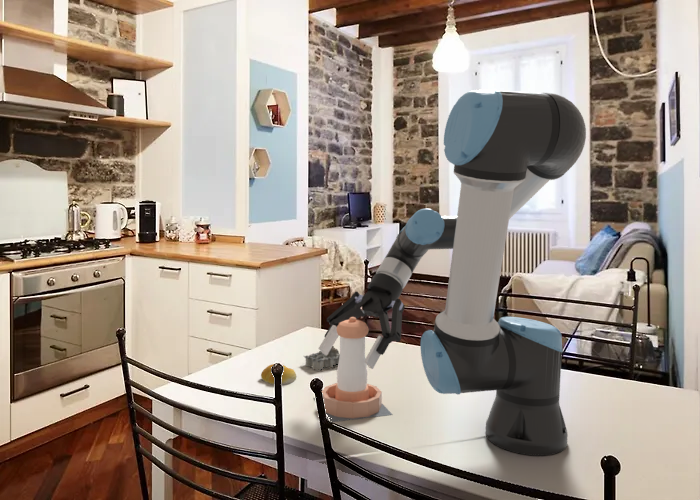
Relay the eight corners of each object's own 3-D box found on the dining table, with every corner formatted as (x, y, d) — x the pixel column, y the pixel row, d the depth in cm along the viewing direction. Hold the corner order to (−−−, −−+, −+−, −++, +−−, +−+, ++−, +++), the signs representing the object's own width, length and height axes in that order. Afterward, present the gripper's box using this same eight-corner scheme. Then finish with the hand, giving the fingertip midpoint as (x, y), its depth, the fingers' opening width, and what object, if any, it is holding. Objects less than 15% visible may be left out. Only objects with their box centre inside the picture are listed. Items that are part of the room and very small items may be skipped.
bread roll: (276, 389, 133) (275, 373, 133) (256, 380, 140) (256, 364, 140) (303, 381, 139) (303, 366, 138) (283, 373, 146) (283, 358, 145)
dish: (389, 413, 118) (389, 399, 117) (331, 420, 114) (331, 406, 113) (369, 392, 130) (369, 379, 129) (316, 398, 126) (316, 385, 126)
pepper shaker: (330, 406, 120) (330, 319, 118) (342, 394, 126) (342, 312, 124) (362, 410, 117) (363, 322, 115) (372, 398, 124) (373, 315, 122)
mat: (392, 416, 117) (392, 414, 117) (329, 424, 113) (329, 422, 113) (370, 393, 131) (370, 391, 130) (313, 399, 126) (313, 398, 126)
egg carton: (334, 358, 159) (334, 345, 158) (348, 365, 152) (348, 351, 152) (301, 364, 153) (301, 350, 152) (315, 372, 147) (315, 356, 146)
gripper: (440, 298, 122) (397, 380, 113) (356, 285, 139) (313, 355, 130) (427, 277, 118) (381, 361, 108) (342, 266, 135) (296, 338, 125)
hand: (344, 358), depth 119 cm, fingers open, 13 cm apart
